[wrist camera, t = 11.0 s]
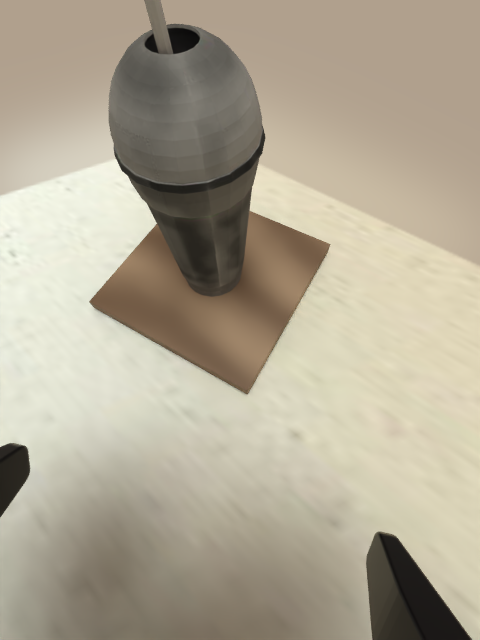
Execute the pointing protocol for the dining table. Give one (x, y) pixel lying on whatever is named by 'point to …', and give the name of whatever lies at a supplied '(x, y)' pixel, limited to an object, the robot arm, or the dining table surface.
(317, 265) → the walnut board
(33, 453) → the dining table surface
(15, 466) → the robot arm
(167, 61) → the beverage cup
